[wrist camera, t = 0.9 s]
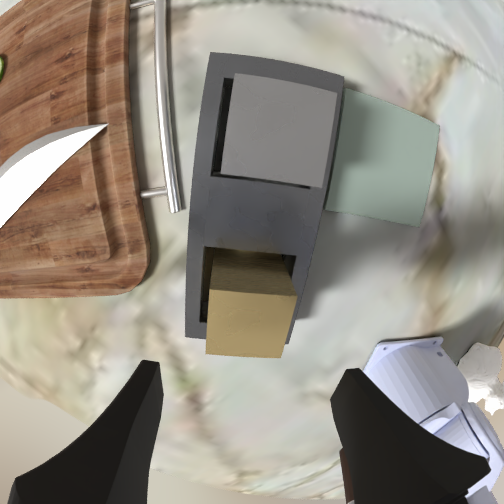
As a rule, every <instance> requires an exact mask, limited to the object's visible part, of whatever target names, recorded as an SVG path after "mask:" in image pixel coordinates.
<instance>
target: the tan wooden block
mask: <svg viewBox="0 0 504 504" xmlns="http://www.w3.org/2000/svg"><path fill="white" fill-rule="evenodd" d="M297 297H298V296H297V294H296V291H295V289H294V286H293V284H292V281H291V279H290V276H289V274H288V271H287V269H286V266H285V264H284V261H283V259H282V257H281V254H276V253H266V252H256V251H246V250H237V249H227V248H217V247H215V252H214V259H213V267H212V274H211V282H210V290H209V304H208V319H207V336H206V354H212V355H224V356H239V357H259V358H281V355H282V352H283V348H284V345H285V341H286V338H287V334H288V331H289V327H290V323H291V320H292V316H293V312H294V308H295V305H296V301H297Z"/></svg>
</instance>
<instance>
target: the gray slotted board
mask: <svg viewBox="0 0 504 504" xmlns="http://www.w3.org/2000/svg"><path fill="white" fill-rule="evenodd" d="M235 73H238V74H246V75H254V76H260V77H267V78H273V79H279V80H284V81H289V82H294V83H299V84H303V85H308V86H312V87H316V88H320V89H324V90H328V91H331V92H335V93H337V99H336V106H335V113H334V120H333V126H332V133H331V139H330V145H329V151H328V157H327V163H326V168H325V174H324V179H323V184H322V188H318V187H312V186H307V185H300V184H294V183H288V182H281V181H274V180H267V179H260V178H252V177H244V176H236V175H227V174H221V172H218V171H214V163H215V155H216V147H217V140H218V132H219V125H220V118H221V111H222V104H223V98H224V91H225V87H231V88H233V82H234V76H235ZM343 83H344V76H340V75H337V74H334V73H330V72H327V71H323V70H319V69H315V68H311V67H307V66H303V65H298V64H294V63H289V62H284V61H278V60H273V59H267V58H261V57H254V56H246V55H237V54H227V53H215V52H210V57H209V62H208V67H207V73H206V79H205V85H204V91H203V97H202V104H201V111H200V118H199V125H198V133H197V141H196V149H195V158H194V167H193V177H192V188H191V199H190V212H189V227H188V244H187V265H186V299H185V337H189V338H198V339H206V336H207V319H208V304H209V301H202V300H203V283H204V268H205V255H206V246H207V247H217V248H227V249H237V250H246V251H256V252H266V253H276V254H285V259H284V264H285V266H286V269H287V271H288V274H289V276H290V279H291V281H292V284H293V286H294V289H295V291H296V294H297V296H298V297H297V301H296V305H295V308H294V312H293V316H292V320H291V323H290V327H289V331H288V334H287V338H286V341H285V344H289V341H290V337H291V334H292V330H293V327H294V323H295V320H296V316H297V312H298V309H299V305H300V301H301V298H302V294H303V290H304V286H305V282H306V278H307V274H308V270H309V266H310V262H311V258H312V254H313V250H314V245H315V241H316V237H317V232H318V228H319V223H320V218H321V214H322V209H323V204H324V199H325V194H326V189H327V184H328V179H329V173H330V168H331V163H332V157H333V151H334V145H335V139H336V133H337V126H338V120H339V113H340V106H341V99H342V91H343Z"/></svg>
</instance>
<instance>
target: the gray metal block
mask: <svg viewBox="0 0 504 504" xmlns="http://www.w3.org/2000/svg"><path fill="white" fill-rule="evenodd" d="M336 99H337V93H335V92H331V91H328V90H324V89H320V88H316V87H312V86H308V85H303V84H299V83H294V82H289V81H284V80H279V79H273V78H267V77H260V76H254V75H246V74H238V73H235V76H234V82H233V88H232V94H231V101H230V107H229V114H228V121H227V128H226V135H225V143H224V150H223V158H222V166H221V174H227V175H236V176H244V177H252V178H260V179H267V180H274V181H281V182H288V183H294V184H300V185H307V186H312V187H318V188H322V184H323V179H324V174H325V168H326V163H327V157H328V151H329V145H330V139H331V133H332V126H333V120H334V113H335V106H336Z"/></svg>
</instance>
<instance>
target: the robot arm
mask: <svg viewBox="0 0 504 504" xmlns="http://www.w3.org/2000/svg"><path fill="white" fill-rule="evenodd" d="M442 342H443V338H442V337H433V338H425V339H415V340H405V341H393V342H381V343H379V344H378V345H377V346H376V348H375V350H374V352H373V354H372V355H371V357H370V359H369V361H368V363H367V365H366V367H365V369H364V370H363V371H362V370H361V369H359V368H355V369H346V371H345V373H344V375H343V377H342V378H341V380H340V382H339V384H338V386H337V388H336V390H335V391H334V393H333V395H332V397H331V399H330V401H331V407H332V413H333V418H334V422H335V425H336V428H337V431H338V434H339V437H340V440H341V443H342V446H343V449H344V452H345V456H346V459H347V462H348V466H349V470H350V475H351V481H352V487H353V495H354V504H498V503H497V501H496V499H495V497H494V495H493V493H492V492H491V489H492V488H493V486H494V484H495V482H496V480H497V478H498V477H499V475H500V473H501V471H502V469H503V467H504V449H503V447H502V445H501V443H500V440H499V438H498V436H497V434H496V432H495V430H494V429H493V427H492V425H491V424H490V422H489V421H488V419H487V418H486V416H485V415H484V413H483V412H482V410H481V409H480V408H479V407H478V405H477V404H476V403H475V402H470V403H469V402H468V399H469V387H468V383H467V381H466V379H465V377H464V376H463V374H462V373H461V372H460V370H459V369H458V368H457V366H456V365H455V364H454V362H453V361H452V360H451V359H450V357H449V356H448V355H447V353H446V352H445V351H444V350H443V348H442V347H441V344H442ZM163 396H164V393H163V387H162V379H161V372H160V364H159V362H154V361H148V360H142V361H141V362H140V364H139V365H138V367H137V368H136V370H135V371H134V373H133V374H132V376H131V377H130V379H129V380H128V382H127V383H126V384H125V386H124V387H123V388H122V390H121V391H120V392H119V393H118V395H117V396H116V397H115V399H114V400H113V401H112V402H111V404H110V405H109V406H108V407H107V408H106V409H105V411H104V412H103V413H102V414H101V415H100V416H99V417H98V419H97V420H96V421H95V422H94V423H93V424H92V425H91V426H90V427H89V428H88V429H87V430H86V431H85V432H84V433H83V434H82V435H80V437H78V438H77V439H76V440H75V441H74V442H72V443H71V444H70V445H69V446H67V447H66V448H65V449H64V450H62V451H61V452H60V453H58V454H57V455H55V456H54V457H52V458H51V459H49V460H48V461H46V462H45V463H43V464H42V465H40V466H38V467H36V468H34V469H33V470H30V471H29V472H27V473H25V474H23V475H21V476H18V477H16V478H15V481H14V483H13V485H12V488H11V492H10V496H9V500H8V504H147V491H148V490H147V489H148V477H149V469H150V463H151V458H152V453H153V449H154V445H155V440H156V436H157V432H158V427H159V423H160V419H161V412H162V404H163Z"/></svg>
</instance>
